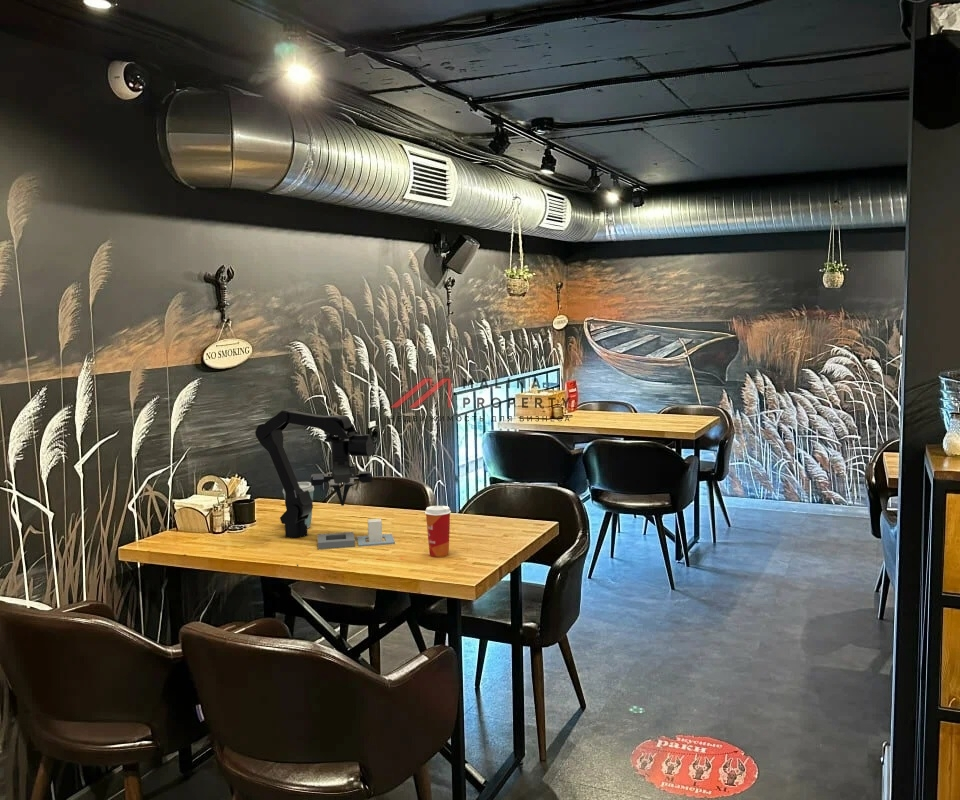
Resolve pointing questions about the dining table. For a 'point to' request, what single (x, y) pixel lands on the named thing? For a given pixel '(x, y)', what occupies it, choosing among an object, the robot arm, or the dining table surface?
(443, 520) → the paper cup
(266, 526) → the dining table surface
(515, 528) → the dining table surface
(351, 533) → the raised dock
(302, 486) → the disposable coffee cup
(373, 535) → the plug
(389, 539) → the low dock
